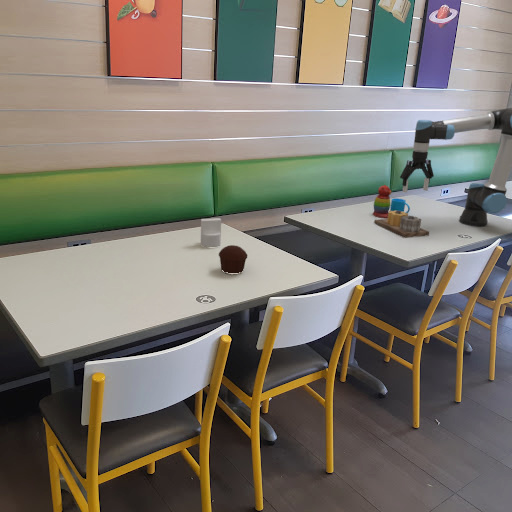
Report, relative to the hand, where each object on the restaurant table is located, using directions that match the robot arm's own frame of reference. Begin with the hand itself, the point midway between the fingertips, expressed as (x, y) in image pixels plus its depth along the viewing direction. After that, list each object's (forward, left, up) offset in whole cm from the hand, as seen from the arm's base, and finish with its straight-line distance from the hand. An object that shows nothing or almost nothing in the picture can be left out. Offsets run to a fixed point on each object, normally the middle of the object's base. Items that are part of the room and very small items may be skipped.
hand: (415, 191), depth 270 cm
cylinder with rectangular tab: (+114, +3, -20) cm, 116 cm away
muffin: (+115, +35, -20) cm, 122 cm away
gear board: (+7, +2, -20) cm, 21 cm away
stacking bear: (+1, -24, -20) cm, 31 cm away
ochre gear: (+7, -2, -18) cm, 20 cm away
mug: (-13, -25, -20) cm, 35 cm away
